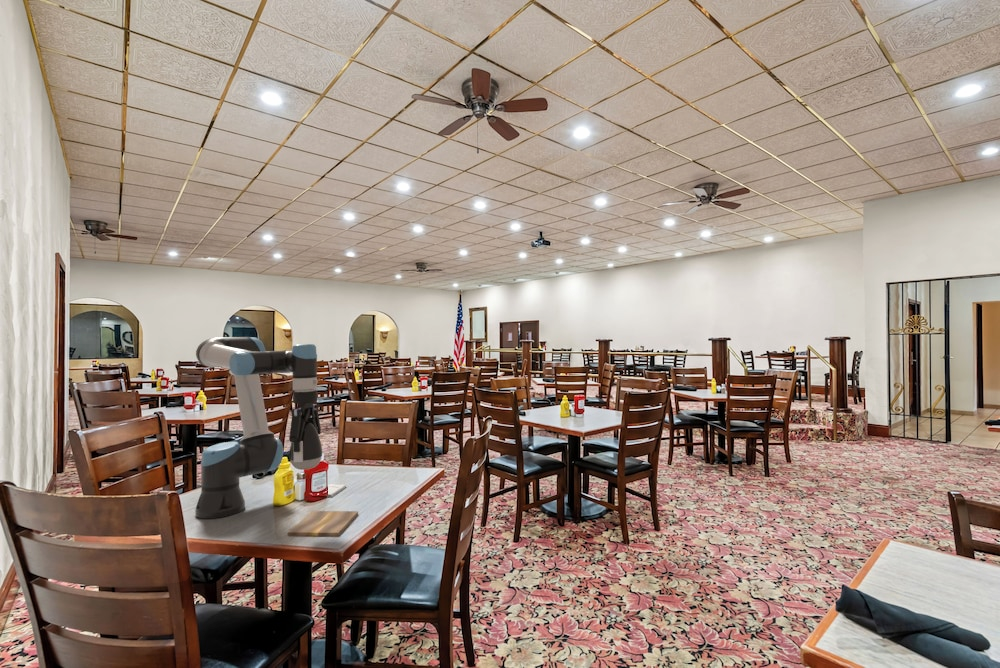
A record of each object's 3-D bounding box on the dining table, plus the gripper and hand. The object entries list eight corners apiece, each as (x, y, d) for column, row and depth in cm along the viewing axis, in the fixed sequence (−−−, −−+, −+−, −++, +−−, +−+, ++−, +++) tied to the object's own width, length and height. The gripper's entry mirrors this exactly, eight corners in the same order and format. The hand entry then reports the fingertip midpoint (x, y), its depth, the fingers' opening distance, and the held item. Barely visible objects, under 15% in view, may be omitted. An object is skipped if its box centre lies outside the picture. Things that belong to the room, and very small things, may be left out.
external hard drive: (311, 497, 183) (327, 487, 195) (331, 498, 182) (346, 488, 194) (311, 493, 183) (327, 483, 195) (331, 494, 182) (346, 484, 194)
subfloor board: (287, 535, 147) (287, 532, 147) (312, 513, 165) (312, 510, 165) (338, 536, 146) (338, 532, 146) (357, 514, 164) (357, 511, 164)
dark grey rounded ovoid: (283, 472, 151) (282, 424, 152) (297, 464, 162) (296, 419, 162) (315, 471, 151) (314, 423, 152) (327, 463, 162) (326, 418, 162)
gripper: (299, 393, 146) (300, 466, 145) (330, 387, 168) (331, 450, 168) (276, 394, 146) (277, 466, 146) (309, 387, 169) (310, 450, 168)
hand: (306, 457), depth 157 cm, fingers closed on dark grey rounded ovoid, 10 cm apart
